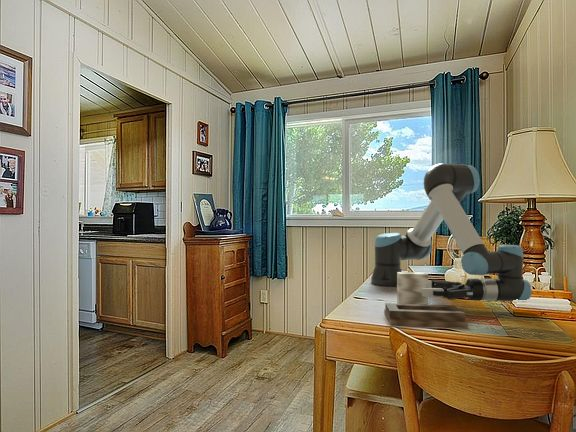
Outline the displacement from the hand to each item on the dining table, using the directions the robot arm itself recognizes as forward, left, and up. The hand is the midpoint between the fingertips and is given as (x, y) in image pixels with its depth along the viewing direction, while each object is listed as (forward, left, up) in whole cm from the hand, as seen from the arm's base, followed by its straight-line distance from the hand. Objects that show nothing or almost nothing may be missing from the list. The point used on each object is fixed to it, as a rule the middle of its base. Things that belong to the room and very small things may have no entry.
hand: (417, 288), depth 133 cm
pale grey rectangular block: (+1, -1, -7) cm, 7 cm away
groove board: (+9, +13, -7) cm, 17 cm away
